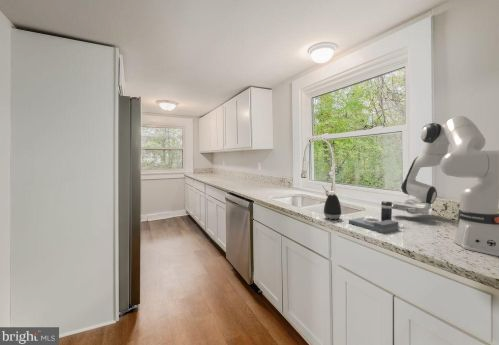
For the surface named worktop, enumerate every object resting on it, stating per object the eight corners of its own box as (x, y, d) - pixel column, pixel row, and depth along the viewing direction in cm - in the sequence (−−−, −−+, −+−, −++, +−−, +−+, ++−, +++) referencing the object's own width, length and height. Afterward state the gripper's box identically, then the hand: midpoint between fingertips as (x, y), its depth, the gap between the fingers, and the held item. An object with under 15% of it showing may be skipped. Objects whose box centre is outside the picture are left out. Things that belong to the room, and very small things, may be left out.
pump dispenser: (333, 215, 148) (333, 192, 147) (345, 219, 138) (345, 194, 137) (319, 217, 144) (320, 193, 143) (331, 221, 134) (331, 195, 133)
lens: (393, 223, 129) (394, 202, 128) (387, 225, 126) (388, 203, 126) (384, 221, 133) (385, 200, 132) (378, 222, 131) (379, 201, 130)
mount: (398, 229, 118) (398, 221, 118) (383, 233, 113) (383, 225, 112) (363, 220, 136) (363, 213, 136) (348, 223, 130) (348, 216, 130)
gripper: (395, 198, 150) (382, 200, 144) (431, 203, 132) (418, 206, 126) (395, 208, 151) (381, 210, 144) (431, 214, 133) (418, 217, 126)
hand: (399, 208), depth 135 cm, fingers open, 8 cm apart
